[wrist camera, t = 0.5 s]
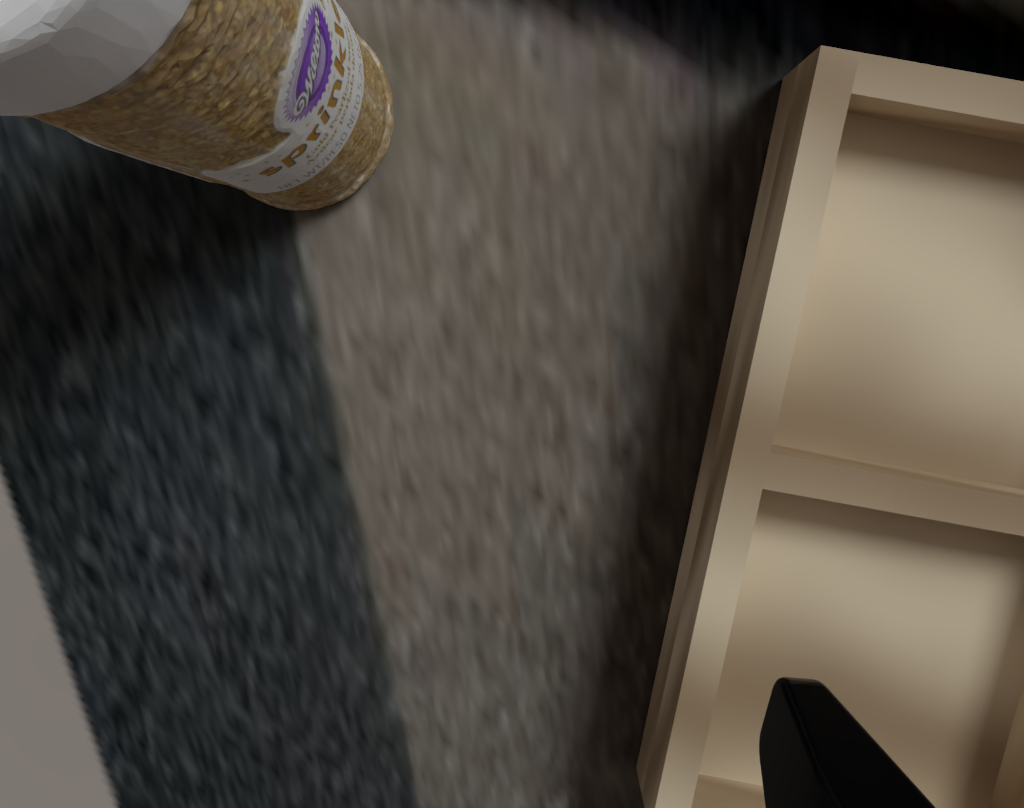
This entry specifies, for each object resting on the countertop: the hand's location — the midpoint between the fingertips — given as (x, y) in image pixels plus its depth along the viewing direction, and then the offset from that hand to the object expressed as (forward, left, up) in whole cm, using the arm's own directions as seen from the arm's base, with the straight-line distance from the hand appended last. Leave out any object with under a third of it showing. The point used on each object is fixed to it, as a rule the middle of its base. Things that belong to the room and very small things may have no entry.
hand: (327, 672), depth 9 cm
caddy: (+1, -11, -13) cm, 17 cm away
